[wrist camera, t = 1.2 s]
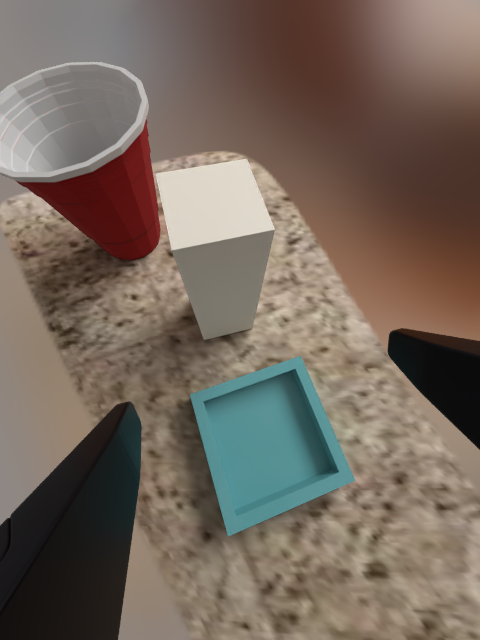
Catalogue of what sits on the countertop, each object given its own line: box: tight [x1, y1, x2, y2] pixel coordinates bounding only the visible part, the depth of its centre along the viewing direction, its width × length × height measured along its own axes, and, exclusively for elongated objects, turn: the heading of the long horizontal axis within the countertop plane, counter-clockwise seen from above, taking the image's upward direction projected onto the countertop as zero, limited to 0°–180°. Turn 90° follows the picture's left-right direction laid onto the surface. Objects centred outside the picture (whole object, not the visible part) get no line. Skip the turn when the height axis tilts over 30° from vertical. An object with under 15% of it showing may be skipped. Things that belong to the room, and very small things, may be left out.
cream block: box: [156, 159, 275, 340], centre depth 18 cm, size 4×4×13 cm
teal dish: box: [190, 356, 355, 536], centre depth 19 cm, size 9×9×2 cm
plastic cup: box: [0, 62, 160, 260], centre depth 21 cm, size 11×11×12 cm
